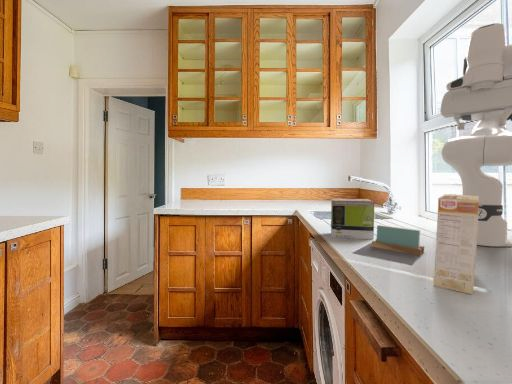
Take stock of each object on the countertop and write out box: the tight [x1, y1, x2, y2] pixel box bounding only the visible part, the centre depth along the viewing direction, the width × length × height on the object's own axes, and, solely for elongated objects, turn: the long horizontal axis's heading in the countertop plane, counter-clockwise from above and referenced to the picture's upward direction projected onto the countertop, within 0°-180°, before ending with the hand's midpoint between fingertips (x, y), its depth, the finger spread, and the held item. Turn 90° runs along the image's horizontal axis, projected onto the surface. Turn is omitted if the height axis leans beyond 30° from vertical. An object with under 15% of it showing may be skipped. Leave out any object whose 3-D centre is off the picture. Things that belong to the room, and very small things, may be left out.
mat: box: [352, 242, 424, 266], centre depth 83 cm, size 17×16×1 cm
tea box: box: [330, 198, 375, 240], centre depth 106 cm, size 15×10×15 cm
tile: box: [376, 224, 421, 248], centre depth 87 cm, size 2×12×7 cm, turn 49°
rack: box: [371, 238, 425, 257], centre depth 87 cm, size 5×14×2 cm, turn 49°
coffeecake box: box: [433, 193, 479, 295], centre depth 63 cm, size 15×7×20 cm, turn 141°
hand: (480, 127), depth 80 cm, fingers open, 8 cm apart
